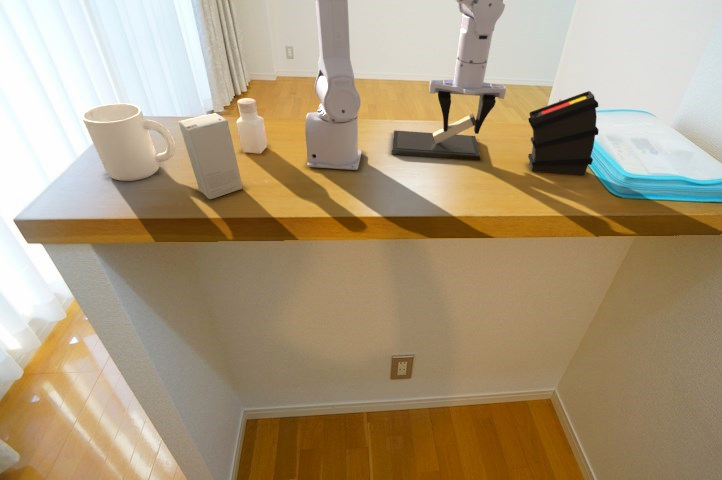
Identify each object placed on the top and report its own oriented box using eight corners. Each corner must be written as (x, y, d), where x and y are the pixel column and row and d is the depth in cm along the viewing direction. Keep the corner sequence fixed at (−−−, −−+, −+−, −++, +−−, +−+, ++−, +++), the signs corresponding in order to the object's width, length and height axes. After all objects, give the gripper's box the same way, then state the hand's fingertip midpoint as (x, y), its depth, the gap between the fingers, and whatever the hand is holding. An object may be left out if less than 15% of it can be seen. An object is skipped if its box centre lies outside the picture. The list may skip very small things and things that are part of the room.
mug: (187, 158, 77) (170, 103, 71) (177, 180, 71) (158, 121, 65) (116, 160, 75) (92, 103, 69) (100, 183, 69) (72, 123, 62)
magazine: (605, 170, 80) (597, 96, 71) (536, 191, 84) (521, 123, 75) (598, 161, 83) (590, 89, 74) (532, 182, 87) (517, 115, 78)
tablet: (391, 154, 84) (391, 149, 83) (393, 134, 91) (393, 129, 91) (479, 160, 84) (480, 155, 83) (474, 140, 92) (475, 135, 91)
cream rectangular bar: (433, 136, 85) (473, 116, 83) (432, 133, 87) (472, 113, 84) (436, 144, 86) (477, 124, 84) (436, 140, 88) (475, 121, 85)
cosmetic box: (232, 179, 73) (216, 110, 65) (244, 190, 70) (229, 119, 62) (197, 190, 69) (176, 119, 61) (209, 202, 67) (188, 129, 59)
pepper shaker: (241, 152, 81) (231, 103, 74) (249, 144, 84) (240, 96, 77) (260, 155, 80) (252, 105, 74) (268, 146, 83) (261, 98, 77)
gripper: (433, 62, 73) (425, 136, 82) (514, 68, 74) (498, 141, 82) (432, 52, 79) (425, 122, 87) (508, 57, 79) (493, 127, 88)
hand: (460, 130), depth 85 cm, fingers closed on cream rectangular bar, 6 cm apart
